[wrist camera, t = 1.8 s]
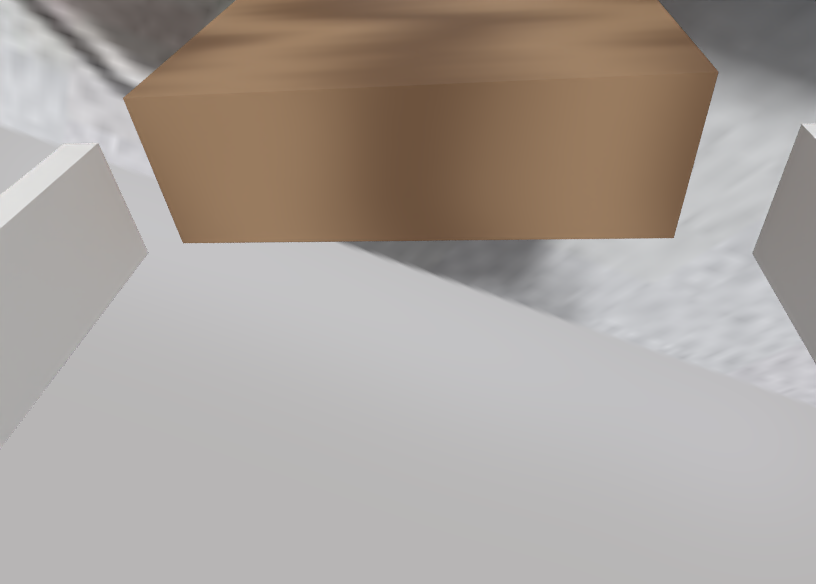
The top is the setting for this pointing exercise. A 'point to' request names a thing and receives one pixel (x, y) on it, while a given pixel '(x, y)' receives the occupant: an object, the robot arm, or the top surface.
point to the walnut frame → (427, 121)
